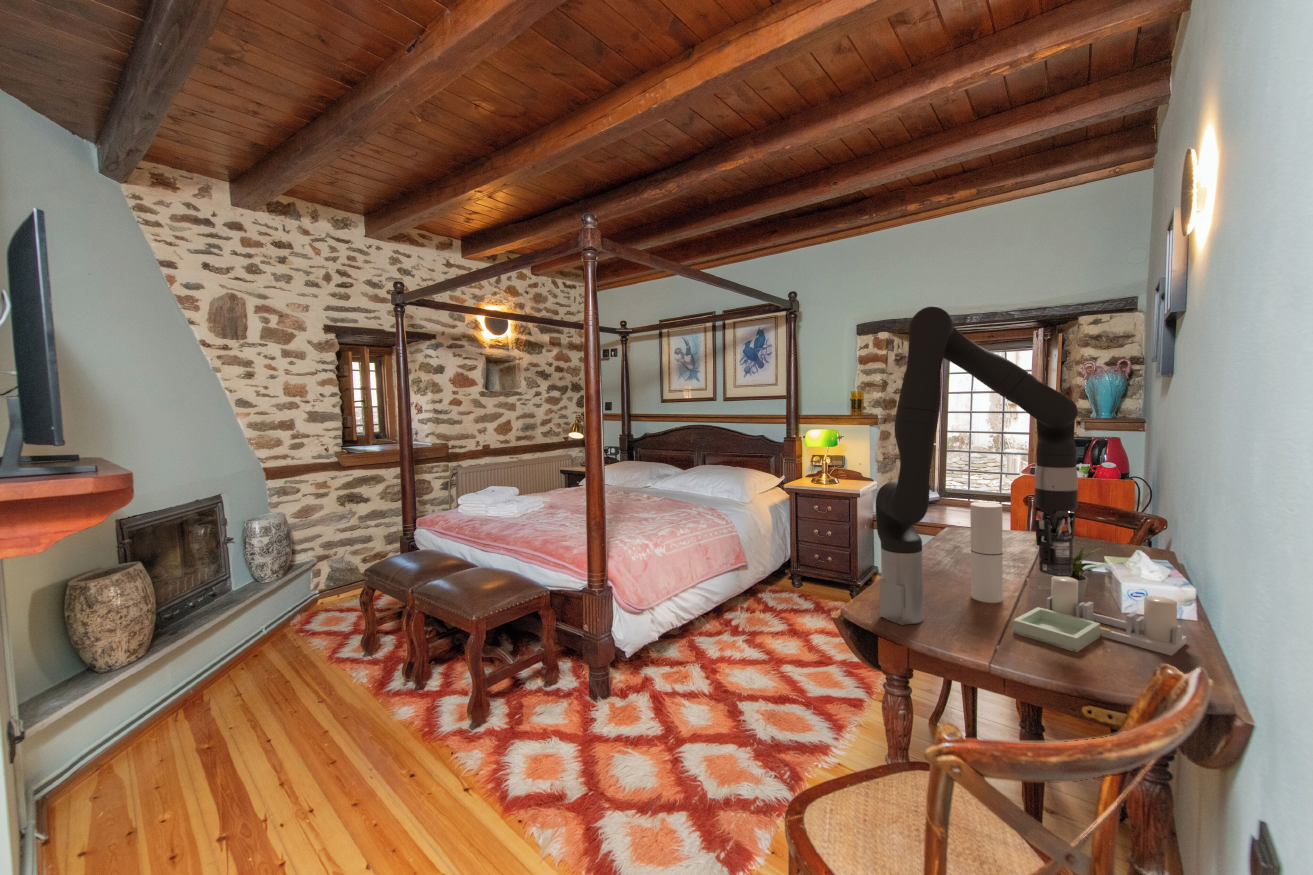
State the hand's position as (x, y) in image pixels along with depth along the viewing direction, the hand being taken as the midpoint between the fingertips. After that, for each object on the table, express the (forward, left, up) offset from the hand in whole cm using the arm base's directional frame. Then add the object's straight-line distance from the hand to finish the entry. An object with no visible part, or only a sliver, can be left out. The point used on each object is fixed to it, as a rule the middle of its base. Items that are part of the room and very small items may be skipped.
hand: (1055, 561), depth 118 cm
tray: (0, 0, -17) cm, 17 cm away
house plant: (+25, +8, -17) cm, 31 cm away
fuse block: (+11, -6, -17) cm, 21 cm away
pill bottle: (0, 0, -3) cm, 3 cm away
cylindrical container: (+11, +20, -17) cm, 28 cm away
